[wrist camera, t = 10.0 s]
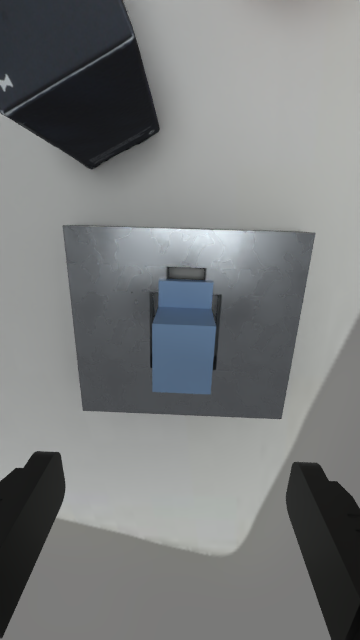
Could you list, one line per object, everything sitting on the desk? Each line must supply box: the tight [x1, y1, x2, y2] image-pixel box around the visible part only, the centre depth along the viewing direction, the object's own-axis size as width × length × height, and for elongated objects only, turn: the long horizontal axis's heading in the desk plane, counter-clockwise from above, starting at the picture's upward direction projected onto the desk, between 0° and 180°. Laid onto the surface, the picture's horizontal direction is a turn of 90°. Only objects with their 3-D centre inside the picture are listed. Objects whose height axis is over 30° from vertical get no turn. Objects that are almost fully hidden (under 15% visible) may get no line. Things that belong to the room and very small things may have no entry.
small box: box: [0, 0, 159, 169], centre depth 14 cm, size 11×6×10 cm, turn 24°
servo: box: [152, 279, 216, 395], centre depth 21 cm, size 9×4×7 cm, turn 178°
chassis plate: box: [63, 225, 315, 419], centre depth 23 cm, size 16×18×2 cm
